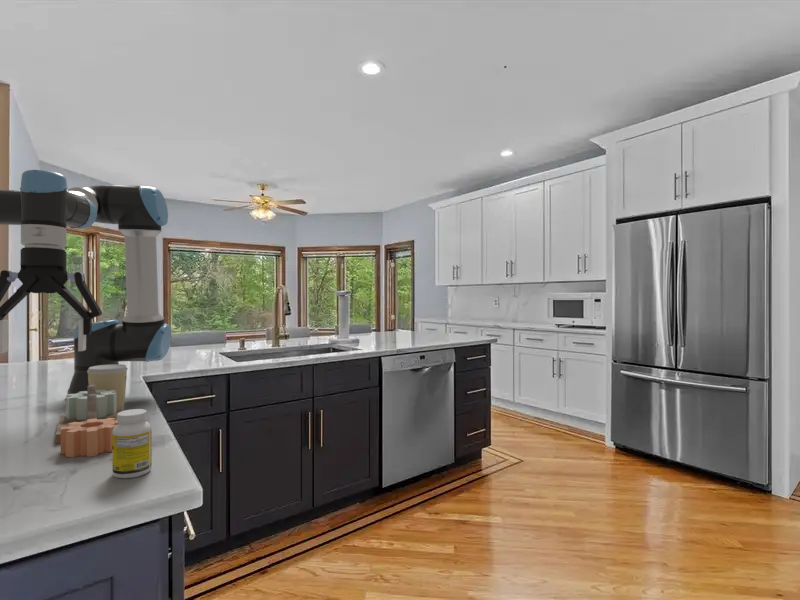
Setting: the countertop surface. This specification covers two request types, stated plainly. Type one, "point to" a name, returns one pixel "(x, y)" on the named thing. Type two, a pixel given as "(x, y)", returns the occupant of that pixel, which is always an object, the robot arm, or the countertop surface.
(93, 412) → the gear board
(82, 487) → the countertop surface
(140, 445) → the pill bottle
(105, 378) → the coffee cup
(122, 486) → the countertop surface
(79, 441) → the rust gear
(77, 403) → the gear
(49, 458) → the countertop surface
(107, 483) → the countertop surface
